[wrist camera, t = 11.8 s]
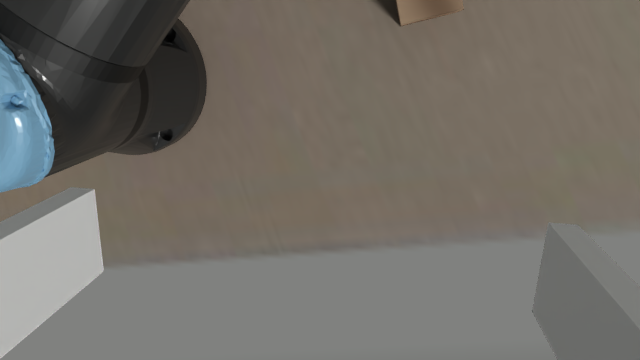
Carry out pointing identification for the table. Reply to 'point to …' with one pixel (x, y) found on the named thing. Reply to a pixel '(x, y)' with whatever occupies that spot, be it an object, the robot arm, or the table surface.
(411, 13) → the walnut block
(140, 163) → the table surface
